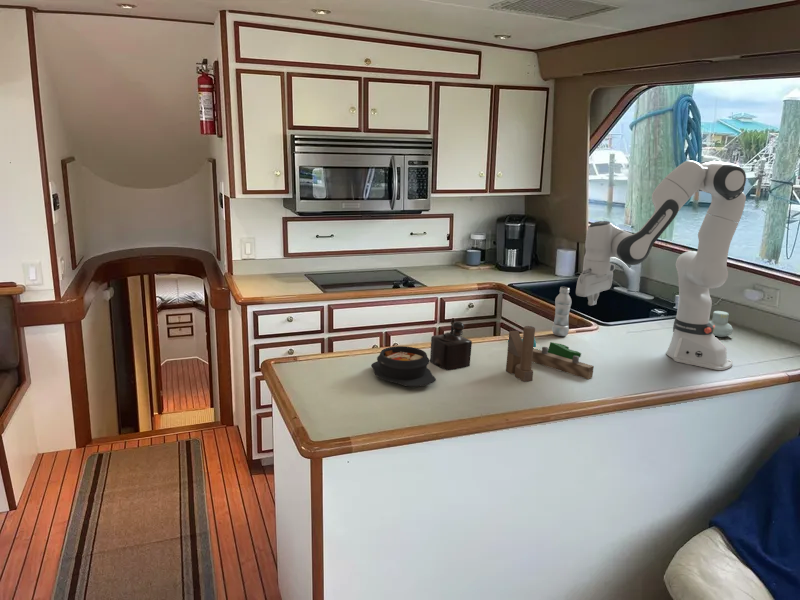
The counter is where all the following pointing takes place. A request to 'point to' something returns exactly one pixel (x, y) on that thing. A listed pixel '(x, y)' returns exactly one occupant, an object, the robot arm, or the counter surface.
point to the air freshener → (721, 324)
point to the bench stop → (562, 363)
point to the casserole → (404, 366)
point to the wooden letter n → (521, 354)
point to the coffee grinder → (451, 348)
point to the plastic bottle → (562, 312)
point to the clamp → (562, 350)
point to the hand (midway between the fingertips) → (592, 304)
